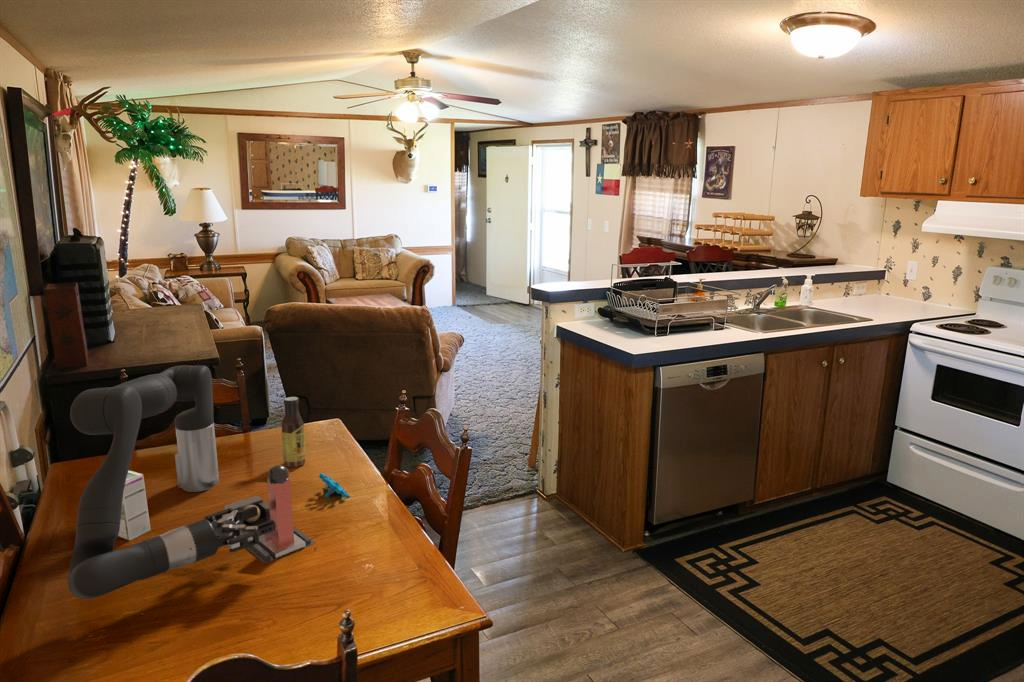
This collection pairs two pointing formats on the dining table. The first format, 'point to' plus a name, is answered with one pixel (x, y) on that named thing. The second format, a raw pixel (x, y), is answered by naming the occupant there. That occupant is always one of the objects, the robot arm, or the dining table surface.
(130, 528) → the syrup box
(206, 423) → the robot arm
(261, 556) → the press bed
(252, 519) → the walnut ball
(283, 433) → the sauce bottle
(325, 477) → the gear
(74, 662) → the dining table surface
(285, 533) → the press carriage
